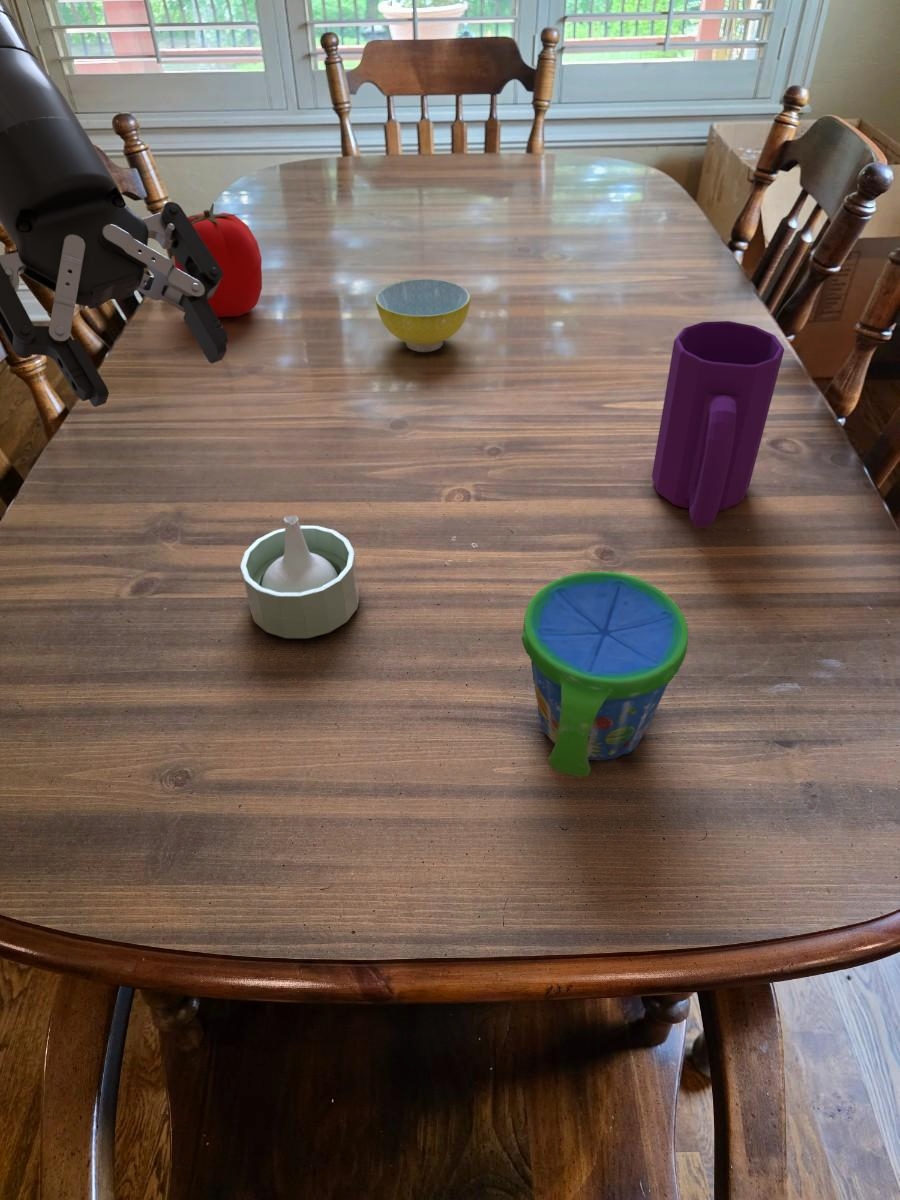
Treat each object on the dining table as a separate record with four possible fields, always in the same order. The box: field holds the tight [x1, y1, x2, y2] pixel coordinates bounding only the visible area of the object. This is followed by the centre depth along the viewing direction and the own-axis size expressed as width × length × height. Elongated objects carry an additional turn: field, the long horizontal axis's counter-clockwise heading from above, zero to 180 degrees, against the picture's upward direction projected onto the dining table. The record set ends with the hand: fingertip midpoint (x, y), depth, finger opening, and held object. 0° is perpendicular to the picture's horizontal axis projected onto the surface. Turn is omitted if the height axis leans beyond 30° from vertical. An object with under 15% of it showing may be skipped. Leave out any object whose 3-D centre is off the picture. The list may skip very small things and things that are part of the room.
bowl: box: [375, 278, 471, 353], centre depth 107 cm, size 11×12×6 cm
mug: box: [651, 320, 785, 529], centre depth 77 cm, size 9×16×15 cm, turn 167°
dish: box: [239, 524, 361, 639], centre depth 71 cm, size 9×9×5 cm
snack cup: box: [521, 571, 689, 777], centre depth 59 cm, size 16×10×10 cm
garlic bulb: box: [262, 515, 338, 592], centre depth 70 cm, size 6×6×8 cm
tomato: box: [173, 203, 263, 318], centre depth 113 cm, size 12×12×13 cm
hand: (163, 378), depth 56 cm, fingers open, 8 cm apart
